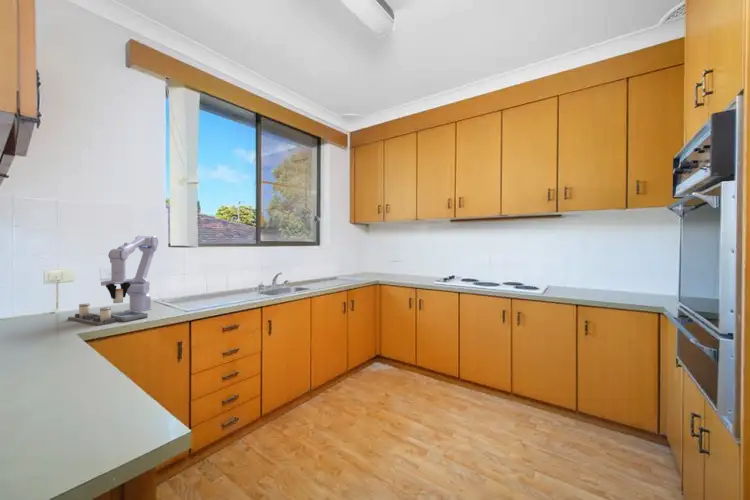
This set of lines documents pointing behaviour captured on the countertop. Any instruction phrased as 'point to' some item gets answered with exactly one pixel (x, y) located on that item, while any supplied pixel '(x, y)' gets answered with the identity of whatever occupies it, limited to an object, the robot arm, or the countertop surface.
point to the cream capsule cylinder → (84, 310)
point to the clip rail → (95, 319)
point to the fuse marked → (118, 296)
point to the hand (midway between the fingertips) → (118, 297)
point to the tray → (130, 316)
